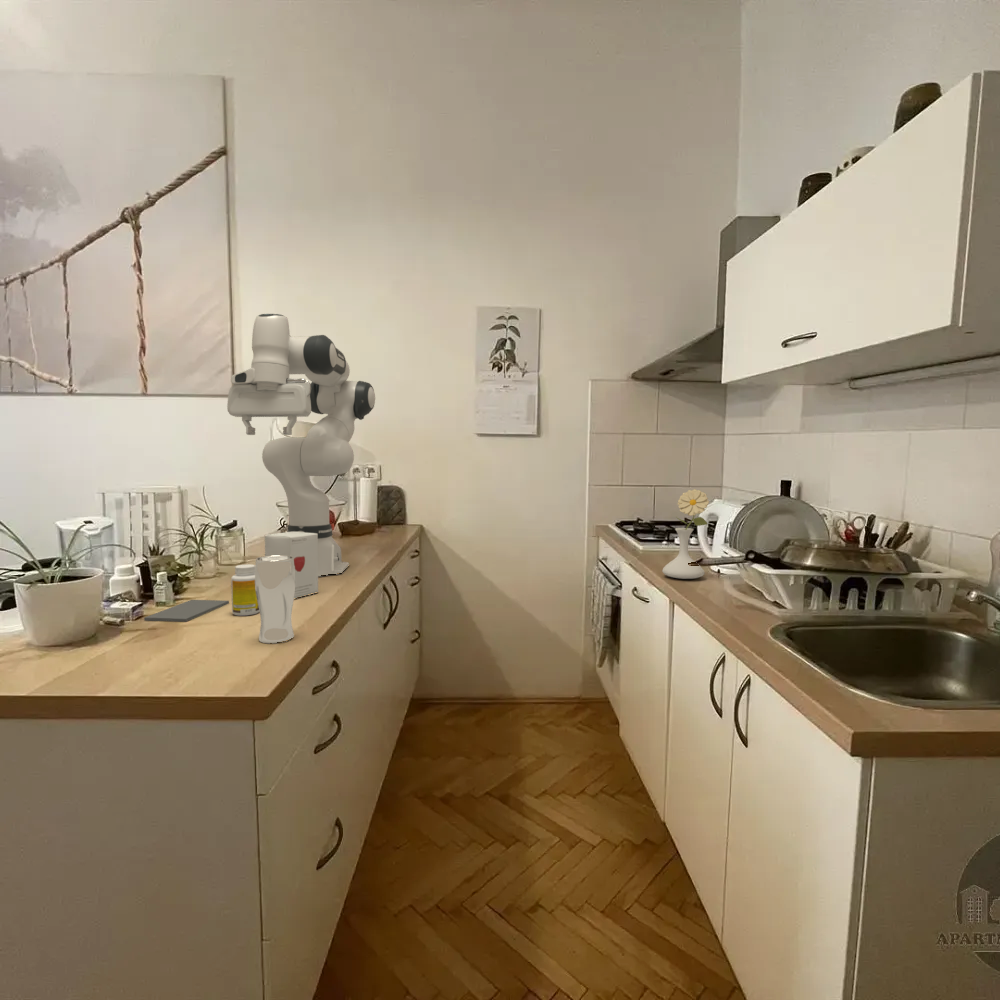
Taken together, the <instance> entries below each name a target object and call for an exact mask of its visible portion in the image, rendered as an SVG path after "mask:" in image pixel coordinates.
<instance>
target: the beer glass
mask: <svg viewBox="0 0 1000 1000" xmlns="http://www.w3.org/2000/svg"><path fill="white" fill-rule="evenodd" d="M254 565H255V591H256V597H257V602H258V606H259V615H260V616H259V617H260V628H259V634H258V635H259V636H258V641H259V642H260V643H263V644H270V643H272V644H278V643H277V642H282V641H286V640H289V639H291V638H293V637H294V638H295V634H294V633H295V632H294V628H293V625H292V611H293V606H294V600H295V599H294V594H295V566H294V557H293V556H289V555H271V556H265V555H264V556H259V557H256V558H255V564H254ZM294 638H293V639H294ZM289 641H290V640H289ZM286 642H287V641H286ZM282 643H283V642H282Z"/></svg>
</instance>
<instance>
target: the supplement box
mask: <svg viewBox="0 0 1000 1000" xmlns="http://www.w3.org/2000/svg"><path fill="white" fill-rule="evenodd" d="M271 555H289V556H293V557H294V566H295V594H294V598H297V597H301V596H304V595H308V594H311V593H315V592H318V593H319V576H318V534H316V533H305V532H294V531H293V532H287V531H286V532H277V533H276V532H275V533H269V534H265V535H264V556H271ZM301 598H302V597H301ZM297 599H298V598H297Z"/></svg>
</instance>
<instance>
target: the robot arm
mask: <svg viewBox="0 0 1000 1000" xmlns="http://www.w3.org/2000/svg"><path fill="white" fill-rule="evenodd" d="M288 319H289V318H288V317H287V316H285V315H282V314H280V313H261V314H259V315H257V316H256V317H255V319H254V322H253V327H252V335H251V336H252V339H251V349H252V350H251V351H252V353H253V355H252V356H253V357H252V361H251V366H250V367H251V368H248V369H246V370H244V371H241V372H238V373H235V374H232V375H231V376H230V382H231V384H233V385H231V387H230V388H229V390H228V394H227V405H226V407H227V412H228V414H229V415H230V416H233V417H235V418H241V421H242V423H243V424H244V427H245V428H246V429H245V430H246V432H245V433H246V435H248V436H255V435H256V428H255V427H253V426H252V424H251V422H252V418H274V417H275V418H277V417H279V418H282V417H283V418H287V420H288V422H287V425H286V426H283V427H282V430H283V431H282V435H285V436H284V437H280V438H275V439H271V440H269V441H268V442H267V443H266V444H265V445H264V447H263V449H262V453H261V455H262V456H261V458H262V462H263V465H264V467H265V468H266V470H267V471H268V472H269V473H270V474H272V475H273V476H274V477H275V478H276V479H277V480H278V481H279V483H280V484H281V486H282V488H283V490H284V492H285V495H286V499H287V506H288V525H287V529H286V532H293V531H294V532H305V533H316V534H318V577H322V576H321V575H326V576H329V575H328V574H336V575H338V574H337V573H342V572H343V571H344V570H345V569H346V568H347V567H348V565H349V566H350V563H349V562H347V561H342V548H341V546H340V545H339V544H338V543H337V542H336V540H335V539H334V538H333V531H334V530H335V523H330V500H329V497H328V496H327V494H326V493H325V492H324V491H322V490H321V489H318V488H317V487H315V486H314V485H313V484H312V482H311V477H331V476H338V475H339V476H340V475H343V474H346V473H348V472H349V471H350V470H351V469H352V466H353V464H354V459H355V455H354V451H353V447H352V446H351V444H350V441H351V439H352V438H353V435H354V433H355V421H356V420H357V419H358V420H360V421H362V420H364V419H365V416H367V415H369V414H370V412H372V410H373V409H374V408H375V403H376V394H375V390H374V387H373V386H372V384H371V383H370V382H367V381H363V380H358V381H357V380H355V381H354V380H348V379H349V376H350V372H351V371H350V370H351V369H350V364H349V363H348V361H347V360H346V357H345V355H344V353H343V352H342V351H341V350H340V349H338V348H337V347H336V346H335V345H336V344H334V342H333V341H332V339H330V338H329V337H328V336H326V335H325V334H318V335H317V334H316V335H311V336H310V335H308V336H304V335H303V336H302V335H300V336H291V334H290V332H291V331H290V325H289V320H288ZM290 375H304V376H305V377H306V378H307V379H308V380H309V381H310V382H309V381H308V380H306V378H290ZM311 413H314V414H318V415H326V416H324V417H322V418H321V419H320V420H318V421H317V422H316V423H315V424H314V425H313V426H312V427H310V428H309V429H308V431H307V434H306V436H302V437H301V436H298V437H297V436H295V437H294V436H291V435H292V433H293V427H294V426H295V425H296V424H297V422H298V421H297V420H298V419H297V418H298V417H300V418H303V417H306V418H308V417H309V416H310V415H311ZM287 436H289V437H287ZM290 436H291V437H290ZM348 568H349V567H348ZM348 568H347V569H348ZM347 569H346V570H347ZM346 570H345V571H346ZM345 571H344V572H345ZM344 572H343V573H344ZM343 573H342V574H343Z"/></svg>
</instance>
